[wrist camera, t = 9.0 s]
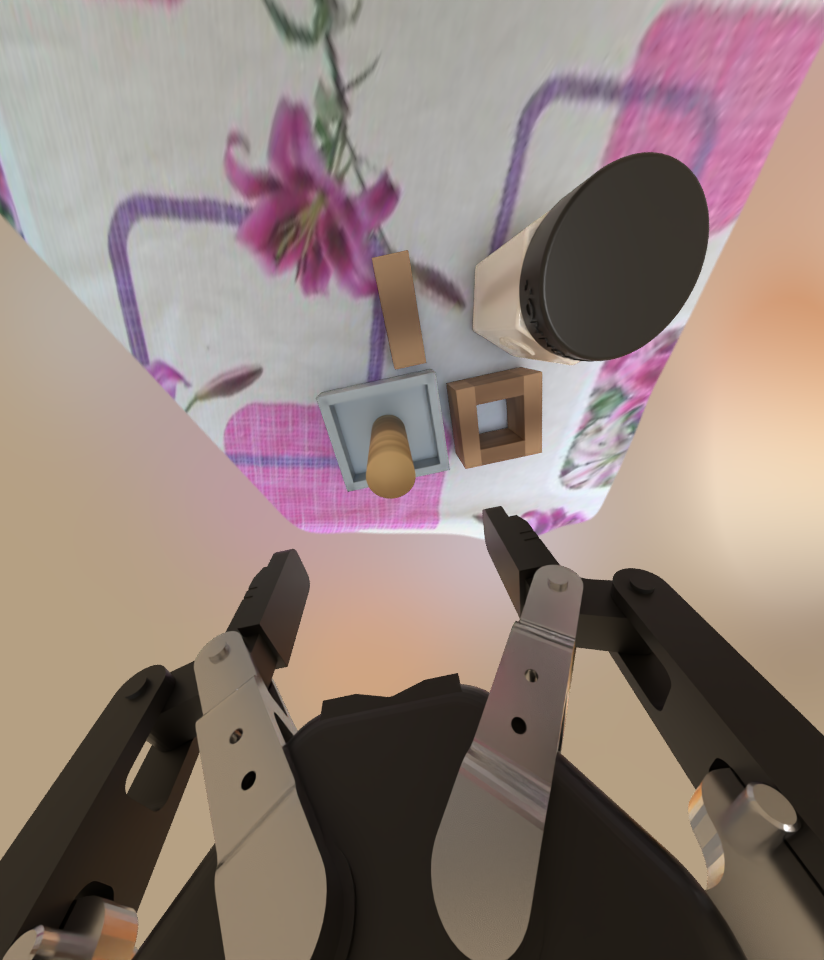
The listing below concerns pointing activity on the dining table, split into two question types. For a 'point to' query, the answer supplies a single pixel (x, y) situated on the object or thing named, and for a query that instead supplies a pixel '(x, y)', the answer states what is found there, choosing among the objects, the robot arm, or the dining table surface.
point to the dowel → (389, 459)
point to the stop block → (399, 308)
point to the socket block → (521, 415)
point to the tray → (364, 403)
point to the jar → (598, 265)
